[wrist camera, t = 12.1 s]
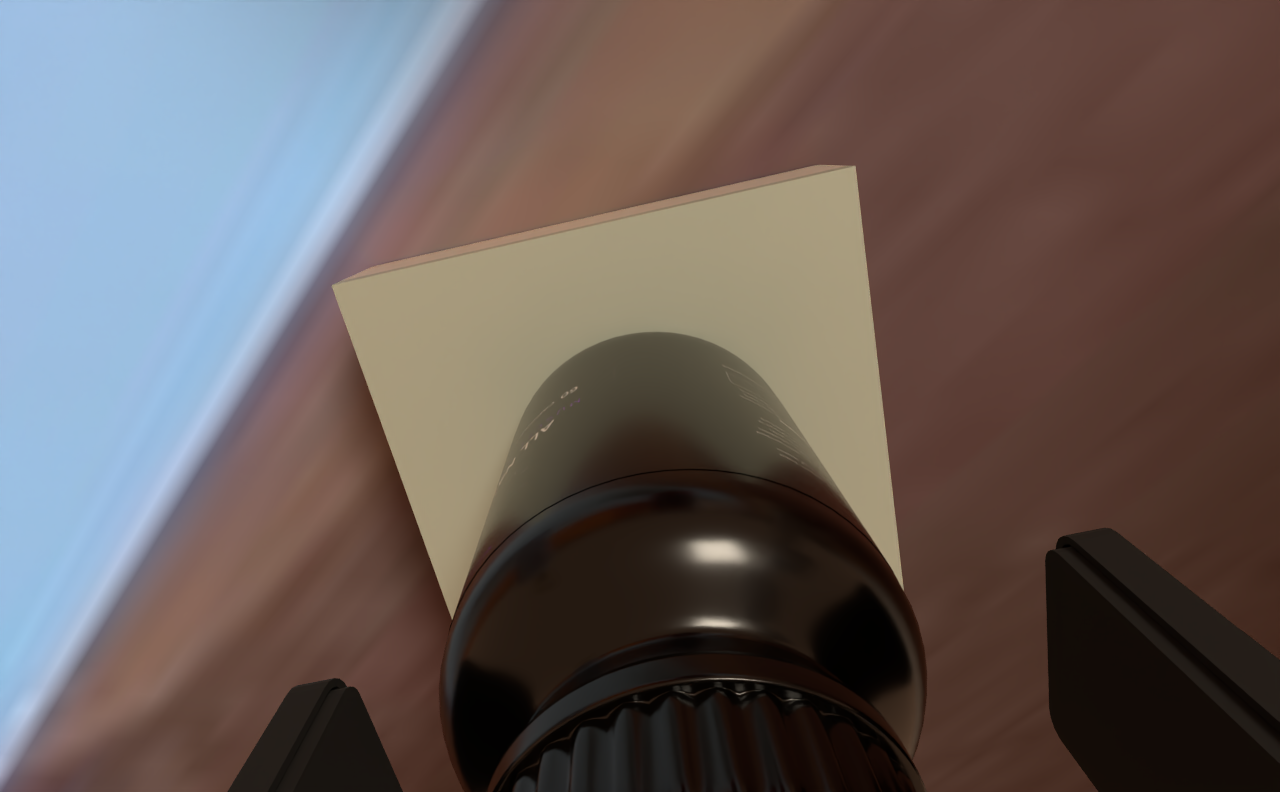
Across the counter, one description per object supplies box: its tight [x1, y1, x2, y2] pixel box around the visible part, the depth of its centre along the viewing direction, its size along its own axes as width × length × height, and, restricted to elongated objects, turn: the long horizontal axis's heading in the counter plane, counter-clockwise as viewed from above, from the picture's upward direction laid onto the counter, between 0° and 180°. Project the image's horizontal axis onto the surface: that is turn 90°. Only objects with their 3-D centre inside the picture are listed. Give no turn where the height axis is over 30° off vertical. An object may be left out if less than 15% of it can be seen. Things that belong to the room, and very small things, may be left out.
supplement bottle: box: [439, 332, 927, 792], centre depth 12 cm, size 7×7×12 cm
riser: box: [332, 165, 904, 619], centre depth 19 cm, size 12×12×3 cm
